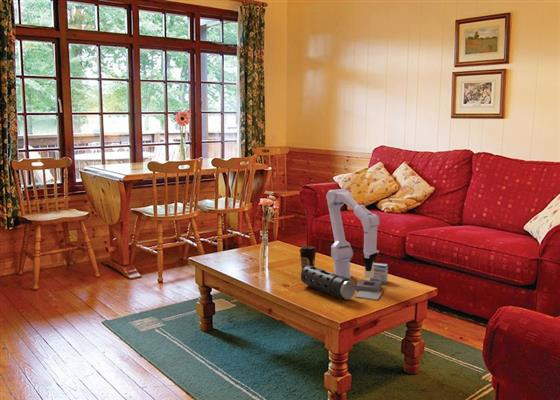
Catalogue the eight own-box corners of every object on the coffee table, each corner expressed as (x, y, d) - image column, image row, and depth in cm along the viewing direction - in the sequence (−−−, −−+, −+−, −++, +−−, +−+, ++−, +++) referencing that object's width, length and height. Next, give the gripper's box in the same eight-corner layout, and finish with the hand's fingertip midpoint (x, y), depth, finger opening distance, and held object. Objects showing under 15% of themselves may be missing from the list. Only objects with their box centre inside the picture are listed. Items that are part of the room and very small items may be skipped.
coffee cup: (307, 275, 274) (307, 250, 272) (295, 271, 280) (295, 247, 278) (319, 271, 279) (319, 247, 277) (307, 268, 286) (308, 244, 283)
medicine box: (369, 281, 264) (370, 264, 262) (371, 279, 268) (371, 262, 266) (386, 283, 261) (386, 266, 260) (387, 280, 265) (388, 263, 264)
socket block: (360, 284, 260) (360, 279, 259) (381, 286, 256) (381, 281, 256) (355, 290, 250) (355, 285, 250) (377, 293, 247) (377, 288, 246)
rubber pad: (360, 290, 251) (360, 289, 251) (382, 293, 247) (382, 292, 247) (355, 297, 241) (355, 296, 241) (377, 300, 238) (377, 299, 238)
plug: (366, 275, 254) (366, 257, 253) (373, 276, 253) (374, 258, 251) (364, 277, 251) (365, 259, 249) (372, 278, 249) (372, 260, 248)
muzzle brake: (315, 284, 261) (315, 263, 259) (356, 300, 238) (357, 277, 237) (299, 287, 255) (300, 266, 253) (340, 305, 233) (341, 281, 231)
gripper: (375, 245, 241) (374, 274, 243) (382, 238, 254) (381, 266, 256) (360, 243, 243) (359, 273, 246) (367, 236, 257) (366, 264, 259)
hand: (369, 269), depth 251 cm, fingers closed on plug, 4 cm apart
